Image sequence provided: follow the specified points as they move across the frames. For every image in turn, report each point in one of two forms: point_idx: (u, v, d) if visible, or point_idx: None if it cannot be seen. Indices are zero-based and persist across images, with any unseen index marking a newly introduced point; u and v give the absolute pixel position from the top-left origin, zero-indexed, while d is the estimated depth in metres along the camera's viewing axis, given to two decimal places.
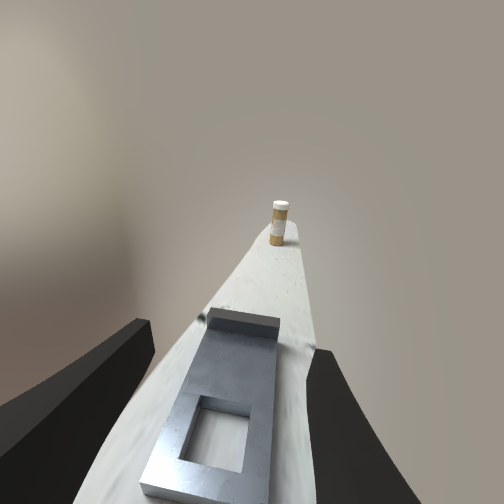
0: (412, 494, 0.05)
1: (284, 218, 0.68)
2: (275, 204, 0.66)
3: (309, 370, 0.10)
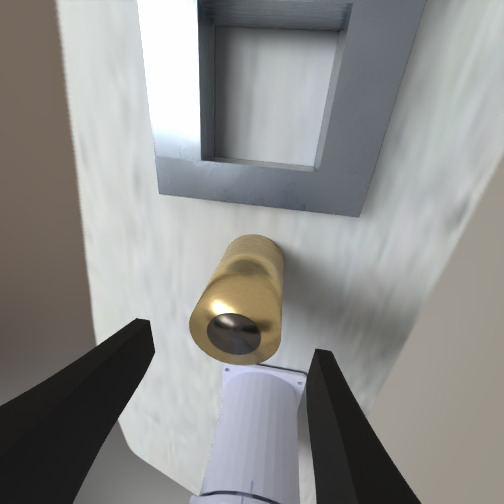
0: (412, 494, 0.05)
1: None
2: None
3: (309, 370, 0.10)
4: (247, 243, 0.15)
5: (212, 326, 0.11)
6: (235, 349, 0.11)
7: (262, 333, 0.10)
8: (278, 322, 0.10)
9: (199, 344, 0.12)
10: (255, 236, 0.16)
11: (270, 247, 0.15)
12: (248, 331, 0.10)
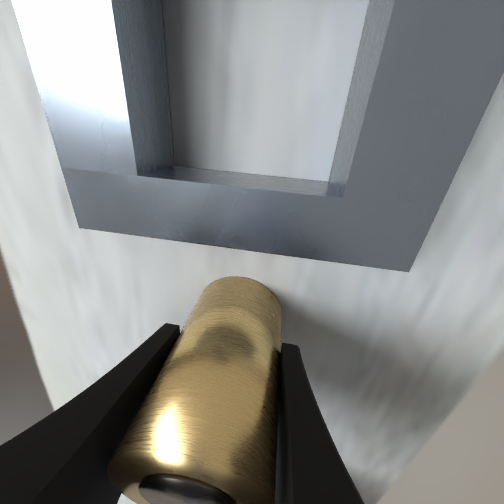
0: (348, 480, 0.05)
1: None
2: None
3: None
4: (226, 295, 0.10)
5: (149, 483, 0.06)
6: None
7: None
8: (269, 488, 0.05)
9: (133, 496, 0.07)
10: (239, 281, 0.11)
11: (261, 300, 0.10)
12: (213, 503, 0.06)
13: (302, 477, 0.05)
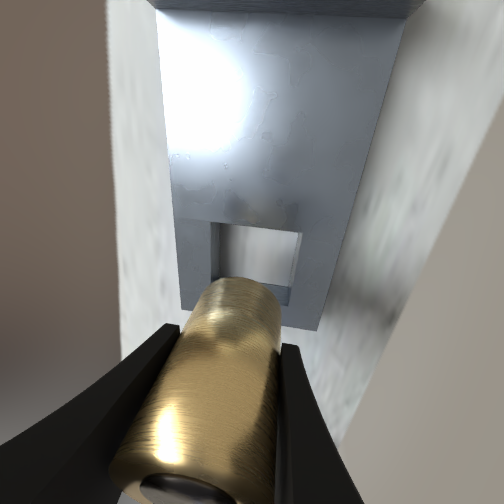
0: (348, 480, 0.05)
1: None
2: None
3: None
4: (226, 296, 0.10)
5: (150, 483, 0.06)
6: None
7: (239, 503, 0.06)
8: (269, 488, 0.05)
9: (135, 494, 0.07)
10: (239, 281, 0.11)
11: (260, 301, 0.10)
12: (213, 502, 0.06)
13: (302, 477, 0.05)
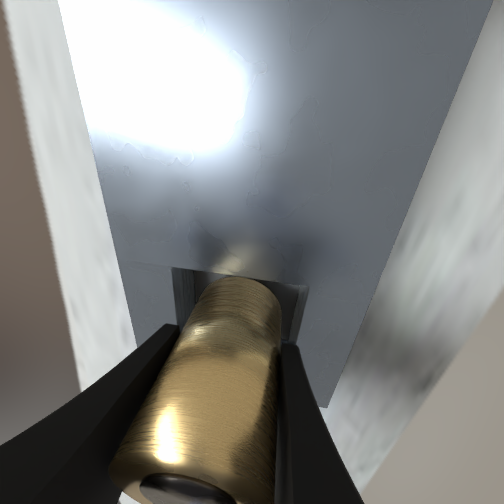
0: (348, 480, 0.05)
1: None
2: None
3: None
4: (226, 296, 0.10)
5: (150, 483, 0.06)
6: None
7: (239, 503, 0.06)
8: (269, 488, 0.05)
9: (135, 494, 0.07)
10: (239, 281, 0.11)
11: (261, 301, 0.10)
12: (213, 501, 0.06)
13: (302, 477, 0.05)
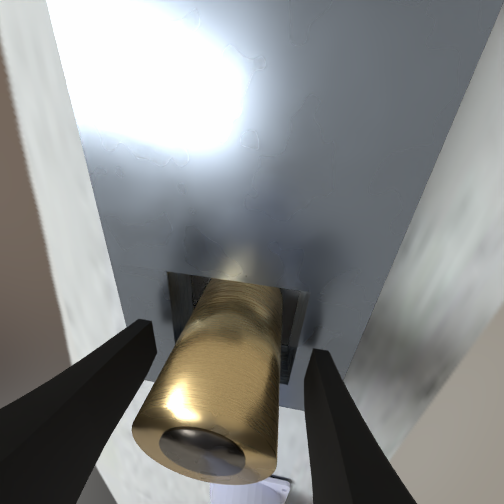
0: (407, 493, 0.05)
1: None
2: None
3: (307, 370, 0.10)
4: (232, 283, 0.11)
5: (168, 438, 0.07)
6: (206, 466, 0.07)
7: (247, 454, 0.06)
8: (272, 440, 0.06)
9: (152, 454, 0.08)
10: None
11: (263, 287, 0.11)
12: (224, 453, 0.06)
13: (360, 490, 0.05)
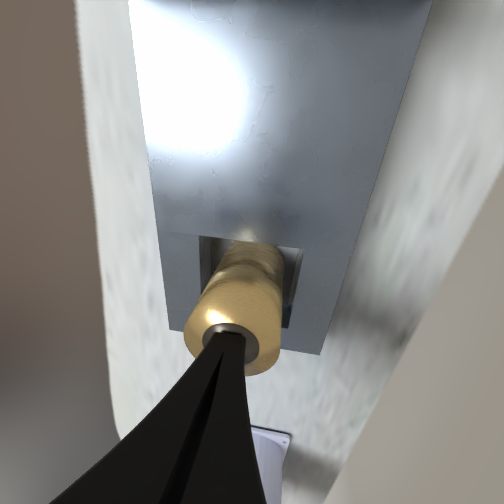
0: (252, 459, 0.05)
1: None
2: None
3: None
4: (245, 247, 0.14)
5: (208, 335, 0.10)
6: None
7: (260, 344, 0.10)
8: (277, 332, 0.10)
9: (194, 354, 0.11)
10: None
11: (269, 251, 0.14)
12: None
13: (206, 456, 0.05)
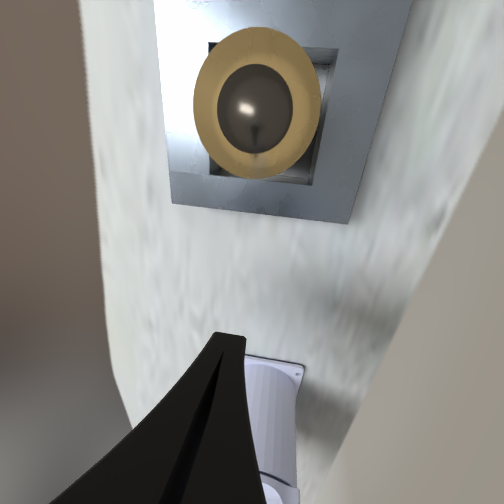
0: (251, 459, 0.05)
1: None
2: None
3: None
4: None
5: (225, 100, 0.08)
6: (255, 145, 0.08)
7: (294, 103, 0.08)
8: None
9: (206, 149, 0.09)
10: None
11: None
12: (275, 98, 0.07)
13: (206, 456, 0.05)
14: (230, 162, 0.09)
